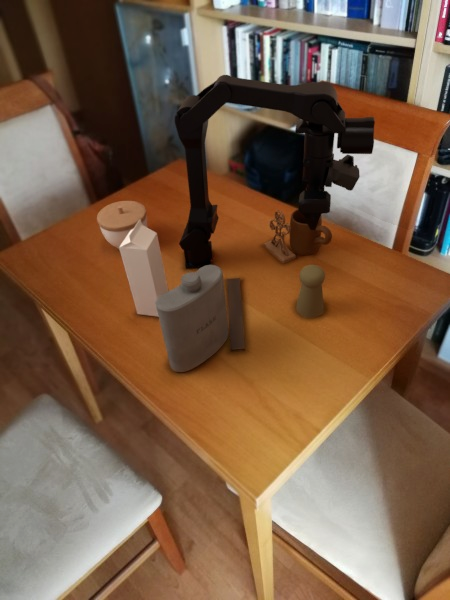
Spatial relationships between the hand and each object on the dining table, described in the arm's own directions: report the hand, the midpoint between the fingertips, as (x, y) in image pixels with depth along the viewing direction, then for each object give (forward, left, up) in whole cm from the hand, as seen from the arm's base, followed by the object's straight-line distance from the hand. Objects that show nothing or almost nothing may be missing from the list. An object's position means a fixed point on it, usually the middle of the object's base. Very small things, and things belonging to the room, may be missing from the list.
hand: (313, 217), depth 106 cm
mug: (+1, +6, -14) cm, 15 cm away
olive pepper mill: (-2, -15, -14) cm, 20 cm away
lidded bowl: (-46, +15, -14) cm, 51 cm away
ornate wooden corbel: (-7, +6, -14) cm, 17 cm away
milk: (-37, -11, -14) cm, 41 cm away
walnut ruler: (-19, -15, -14) cm, 28 cm away
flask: (-26, -25, -14) cm, 39 cm away
